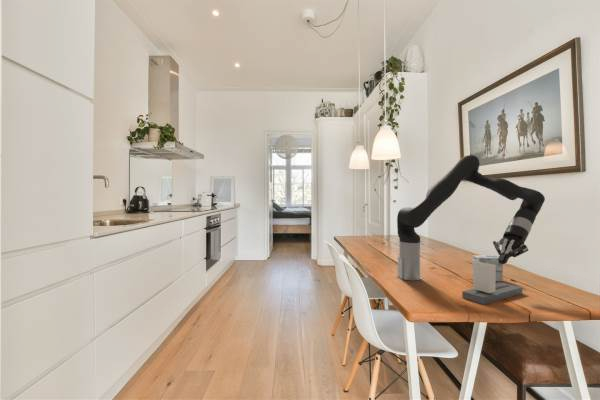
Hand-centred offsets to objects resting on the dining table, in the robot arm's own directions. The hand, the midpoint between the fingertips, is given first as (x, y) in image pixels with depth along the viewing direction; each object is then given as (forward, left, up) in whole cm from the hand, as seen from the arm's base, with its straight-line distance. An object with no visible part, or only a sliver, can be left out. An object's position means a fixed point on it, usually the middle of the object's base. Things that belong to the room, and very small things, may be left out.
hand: (501, 262), depth 117 cm
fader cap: (-10, -6, -9) cm, 15 cm away
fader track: (-5, -3, -12) cm, 13 cm away
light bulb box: (+7, +21, -13) cm, 26 cm away
